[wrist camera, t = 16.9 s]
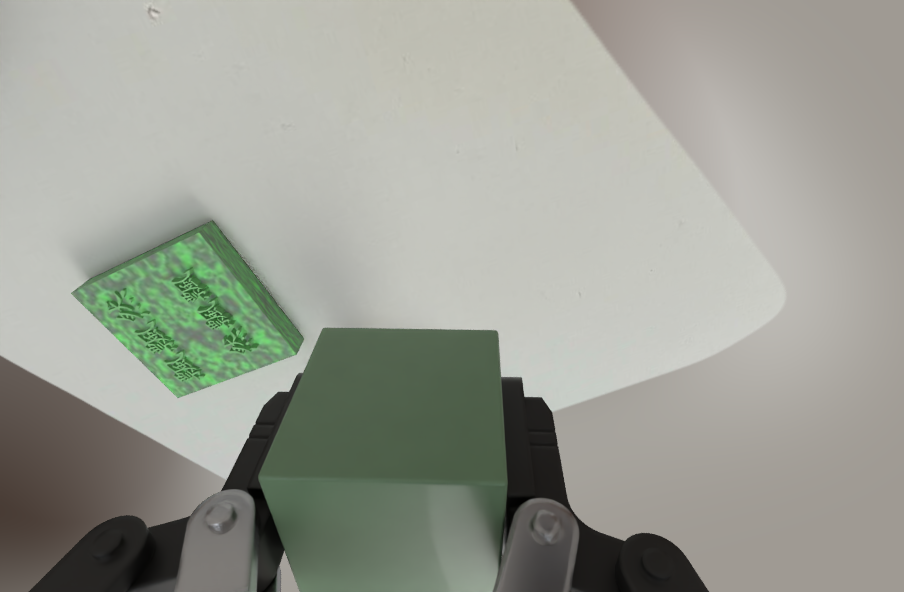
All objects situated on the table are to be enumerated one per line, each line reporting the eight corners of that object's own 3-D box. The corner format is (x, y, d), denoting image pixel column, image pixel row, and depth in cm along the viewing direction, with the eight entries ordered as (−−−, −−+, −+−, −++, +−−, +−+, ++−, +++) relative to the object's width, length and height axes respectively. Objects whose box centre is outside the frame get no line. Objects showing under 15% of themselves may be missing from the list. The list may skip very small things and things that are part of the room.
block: (322, 326, 12) (255, 477, 9) (498, 329, 12) (508, 484, 8) (345, 443, 15) (301, 601, 11) (492, 447, 15) (498, 608, 11)
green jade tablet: (304, 339, 39) (294, 358, 37) (189, 381, 42) (174, 402, 40) (212, 220, 34) (195, 235, 31) (88, 279, 37) (65, 297, 35)
